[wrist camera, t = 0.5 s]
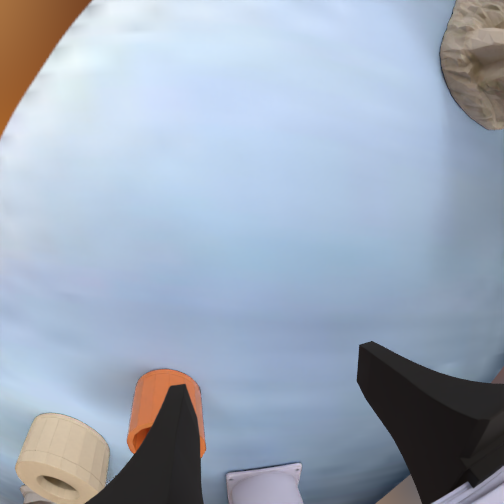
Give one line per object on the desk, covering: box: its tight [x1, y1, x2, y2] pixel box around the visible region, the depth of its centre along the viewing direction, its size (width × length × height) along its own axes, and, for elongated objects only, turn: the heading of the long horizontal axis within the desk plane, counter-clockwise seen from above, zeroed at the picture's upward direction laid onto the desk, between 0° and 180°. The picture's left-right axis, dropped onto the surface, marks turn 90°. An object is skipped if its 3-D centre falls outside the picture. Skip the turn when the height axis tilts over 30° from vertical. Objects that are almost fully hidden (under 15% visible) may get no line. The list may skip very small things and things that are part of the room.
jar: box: [15, 413, 110, 504], centre depth 20 cm, size 8×8×6 cm
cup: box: [127, 369, 206, 458], centre depth 20 cm, size 5×5×6 cm
